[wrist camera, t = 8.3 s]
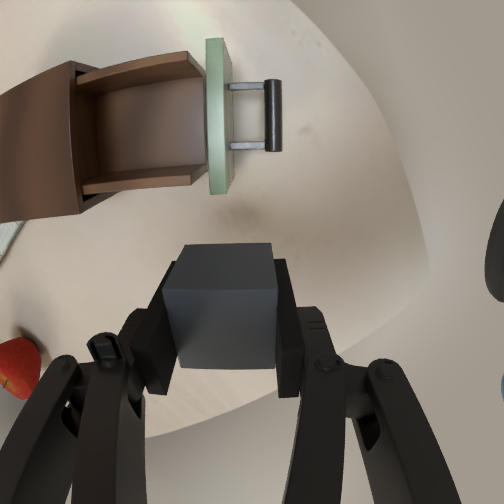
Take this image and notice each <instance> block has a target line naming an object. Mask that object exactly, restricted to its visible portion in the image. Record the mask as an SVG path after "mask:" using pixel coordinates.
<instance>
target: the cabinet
mask: <svg viewBox="0 0 504 504" xmlns="http://www.w3.org/2000/svg"><path fill="white" fill-rule="evenodd" d="M96 70H99V68H96V67H92V66H89V65H86V64H82V63H78V62H75V61H71V60H70V61H68V62H65V63H63V64H61V65H58V66H56V67H54V68H51V69H49V70H47V71H45V72H43V73H41V74H38V75H36V76H34V77H32V78H30V79H28V80H26V81H25V82H23V83H21V84H19V85H17V86H15V87H14V88H12V89H10V90H8V91H7V92H5V93H3V94H2V95H0V224H2V223H9V222H16V221H24V220H32V219H40V218H48V217H58V216H67V215H77V214H81V213H83V212H84V211H86V210H88V209H90V208H91V207H93V206H95V205H97V204H98V203H100V202H102V201H104V200H105V199H107V198H109V197H111V196H113V195H115V194H116V193H118V192H120V191H113V192H104V193H95V194H87V195H82V191H81V184H80V177H79V168H78V158H77V147H76V132H75V77H78V76H80V75H83V74H86V73H89V72H93V71H96Z"/></svg>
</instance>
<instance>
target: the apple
mask: <svg viewBox="0 0 504 504" xmlns="http://www.w3.org/2000/svg"><path fill="white" fill-rule="evenodd" d="M40 370H41V357H40V354H39V351H38V349H37V347H36V346H35V345H34V343H33V342H31V341H30V340H28V339H25V338H21V337H18V338H15V339H12V340H9V341H6V342H4V343H2V344H0V383H1V385H2V386H3V388H5V389H6V390H8V391H9V392H10V393H11V394H13V395H15V396H16V397H18V398H20V399H28V398H29V397H30V395H31V393H32V392H33V390H34V388H35V387H36V385H37V384H38V382H39V378H40Z"/></svg>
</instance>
